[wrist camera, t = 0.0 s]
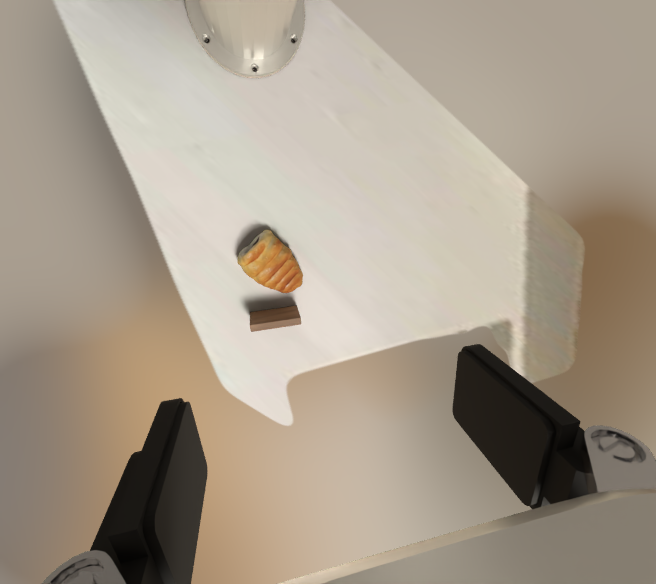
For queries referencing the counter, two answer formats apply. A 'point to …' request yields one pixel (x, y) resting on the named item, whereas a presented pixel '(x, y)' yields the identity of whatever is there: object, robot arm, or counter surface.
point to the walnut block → (274, 318)
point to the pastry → (271, 263)
